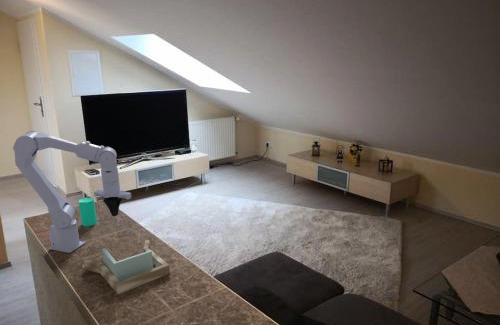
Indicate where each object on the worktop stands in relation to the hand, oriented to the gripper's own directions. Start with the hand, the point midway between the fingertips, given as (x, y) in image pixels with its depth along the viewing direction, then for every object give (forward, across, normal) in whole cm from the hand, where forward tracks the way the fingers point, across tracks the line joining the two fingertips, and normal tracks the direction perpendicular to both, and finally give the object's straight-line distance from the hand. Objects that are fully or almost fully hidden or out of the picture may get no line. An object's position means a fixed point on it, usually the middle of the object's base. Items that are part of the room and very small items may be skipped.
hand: (115, 215), depth 141 cm
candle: (+11, -21, +11) cm, 26 cm away
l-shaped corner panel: (+11, +16, -18) cm, 26 cm away
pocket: (+10, +16, -17) cm, 26 cm away
